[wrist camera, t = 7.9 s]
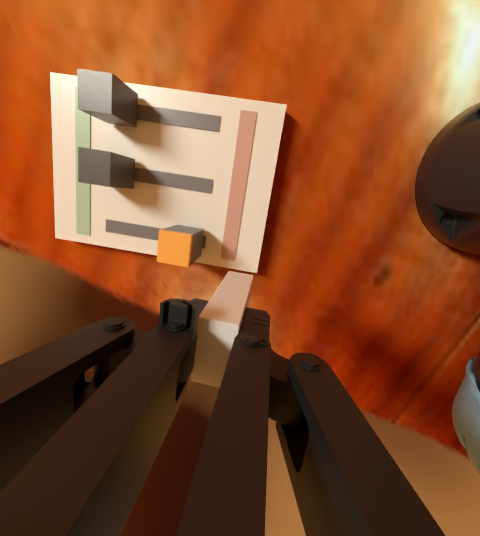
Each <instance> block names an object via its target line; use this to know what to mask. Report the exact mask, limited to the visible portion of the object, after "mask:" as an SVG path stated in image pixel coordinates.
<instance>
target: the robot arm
mask: <svg viewBox="0 0 480 536" xmlns="http://www.w3.org/2000/svg"><path fill="white" fill-rule="evenodd" d="M415 199H416V205H417V209H418V213H419V215H420V218H421V220H422V222H423V223H424V225H425V226H426V228H427V229H428V230H429V232H430V233H431V234H432V235H433V236H434V237H435V238H437V239H438V240H439V241H441V242H442V243H444V244H446V245H448V246H450V247H452V248H455V249H458V250H461V251H465V252H469V253H473V254H477V255H480V103H478V104H476V105H474V106H472V107H470V108H468V109H466V110H465V111H463V112H462V113H460V114H459V115H457V116H456V117H455V118H453V119H452V120H451V121H450V122H449V123H448V124H447V125H446V126H445V127H444V128H443V129H442V130H441V131H440V132H439V133H438V134H437V135H436V137H435V138H434V139H433V141H432V142H431V144H430V145H429V147H428V148H427V150H426V152H425V154H424V156H423V158H422V161H421V163H420V166H419V169H418V173H417V177H416V184H415ZM252 281H253V275H249V274H244V273H238V272H233V271H228V273H227V274H226V276H225V277H224V279H223V280H222V282H221V283H220V285H219V286H218V288H217V289H216V291H215V292H214V294H213V296H212V297H211V299H210V300H209V301H206V300H201V299H193V300H191V301H188V300H184V299H169V300H164V301H163V302H161V303H160V316H159V324H158V325H157V326H156V327H155V328H154V329H153V330H150V331H141V330H140V331H139V330H136V331H135V330H134V329H135V324H134V322H133V321H132V320H130V319H128V318H124V317H118V316H114V317H110V318H105V319H102V320H99V321H97V322H95V323H92V324H90V325H88V326H86V327H84V328H81V329H79V330H77V331H75V332H73V333H70V334H68V335H66V336H63V337H61V338H59V339H57V340H55V341H52V342H50V343H48V344H46V345H44V346H42V347H39V348H37V349H34V350H32V351H30V352H28V353H26V354H24V355H21V356H19V357H17V358H14V359H12V360H10V361H8V362H6V363H3V364H1V365H0V536H120V534H121V531H122V529H123V527H124V525H125V523H126V521H127V519H128V516H129V514H130V511H131V510H132V508H133V506H134V503H135V501H136V499H137V497H138V495H139V493H140V490H141V488H142V486H143V484H144V482H145V479H146V477H147V475H148V473H149V471H150V468H151V466H152V464H153V461H154V460H155V458H156V456H157V453H158V451H159V449H160V447H161V445H162V443H163V440H164V438H165V436H166V434H167V432H168V430H169V427H170V425H171V423H172V421H173V419H174V417H175V414H176V412H177V410H178V408H179V406H180V403H181V401H182V399H183V397H184V395H185V393H186V391H187V385H188V378H189V375H190V374H191V371H192V375H191V381H192V382H197V383H202V384H206V385H211V386H216V387H220V389H219V392H218V396H217V399H216V402H215V405H214V409H213V412H212V415H211V419H210V422H209V425H208V429H207V432H206V435H205V439H204V442H203V445H202V449H201V452H200V456H199V459H198V462H197V466H196V469H195V472H194V476H193V479H192V482H191V486H190V489H189V492H188V496H187V499H186V502H185V506H184V509H183V512H182V516H181V519H180V522H179V526H178V529H177V532H176V536H265V505H266V476H267V446H268V445H267V444H268V417H269V418H271V419H273V420H275V421H276V429H277V433H278V436H279V440H280V444H281V448H282V451H283V454H284V458H285V462H286V465H287V469H288V472H289V476H290V480H291V483H292V487H293V490H294V494H295V498H296V501H297V505H298V508H299V512H300V515H301V519H302V523H303V526H304V530H305V534H306V536H445V535H444V533H443V531H442V530H441V529H440V527H439V526H438V524H437V523H436V521H435V520H434V518H433V517H432V515H431V514H430V512H429V511H428V509H427V508H426V506H425V505H424V504H423V502H422V501H421V499H420V498H419V496H418V495H417V493H416V492H415V491H414V489H413V487H412V486H411V485H410V483H409V482H408V480H407V479H406V477H405V476H404V474H403V473H402V471H401V470H400V468H399V467H398V465H397V464H396V463H395V461H394V460H393V458H392V457H391V455H390V454H389V452H388V451H387V449H386V448H385V446H384V445H383V444H382V442H381V441H380V439H379V438H378V436H377V435H376V433H375V432H374V430H373V429H372V427H371V426H370V424H369V423H368V422H367V420H366V419H365V417H364V416H363V414H362V413H361V411H360V410H359V408H358V407H357V405H356V404H355V402H354V401H353V400H352V398H351V397H350V395H349V394H348V392H347V391H346V389H345V388H344V386H343V385H342V383H341V382H340V381H339V379H338V378H337V376H336V375H335V373H334V372H333V370H332V369H331V367H330V366H329V365H328V364H327V363H326V362H325V361H324V360H323V359H321V358H319V357H318V356H316V355H313V354H310V353H296V354H294V355H292V356H291V358H290V360H289V359H286V358H284V357H282V356H280V355H278V354H276V353H275V352H274V351H273V350H272V349H271V344H270V341H269V328H270V327H269V326H270V316H269V314H268V313H267V312H266V311H263V310H258V309H252V308H248V305H249V299H250V293H251V287H252ZM91 367H93V376H92V377H90V378H89V379H87V380H85V379H84V372H85V371H86V370H88V369H89V368H91ZM452 420H453V425H454V428H455V431H456V434H457V436H458V438H459V441H460V442H461V444H462V445H463V447H464V448H465V449H466V451H467V454H468V457H469V459H470V460H471V462H472V463H473V465H474V466H475V468H476V469H477V471H478V472H479V473H480V351H479V353H478V355H477V356H476V357H473V358H472V359H470V360H469V361H468V363H467V366H466V375H465V377H464V379H463V381H462V383H461V385H460V388H459V390H458V392H457V394H456V396H455V398H454V401H453V404H452Z"/></svg>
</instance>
